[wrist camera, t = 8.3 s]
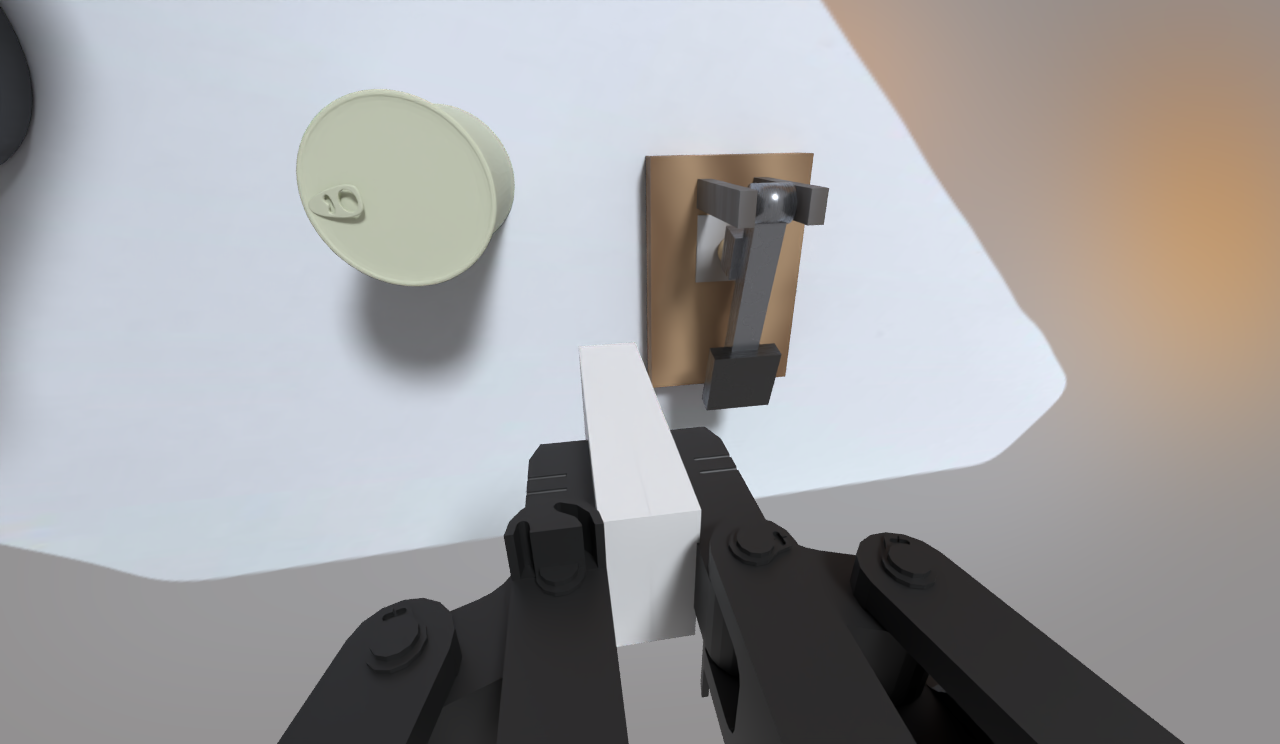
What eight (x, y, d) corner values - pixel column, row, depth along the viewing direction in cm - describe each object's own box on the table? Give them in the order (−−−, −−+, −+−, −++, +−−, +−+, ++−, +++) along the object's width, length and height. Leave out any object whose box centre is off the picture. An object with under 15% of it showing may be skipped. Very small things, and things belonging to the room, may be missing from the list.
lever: (693, 373, 41) (706, 410, 38) (718, 169, 30) (740, 195, 27) (750, 369, 42) (768, 404, 38) (794, 167, 31) (825, 192, 28)
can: (354, 113, 32) (250, 99, 21) (497, 95, 32) (468, 74, 22) (401, 254, 36) (335, 303, 25) (527, 235, 36) (515, 275, 26)
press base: (647, 377, 43) (674, 447, 33) (645, 156, 35) (680, 162, 26) (776, 366, 45) (837, 430, 35) (801, 152, 37) (890, 157, 27)
